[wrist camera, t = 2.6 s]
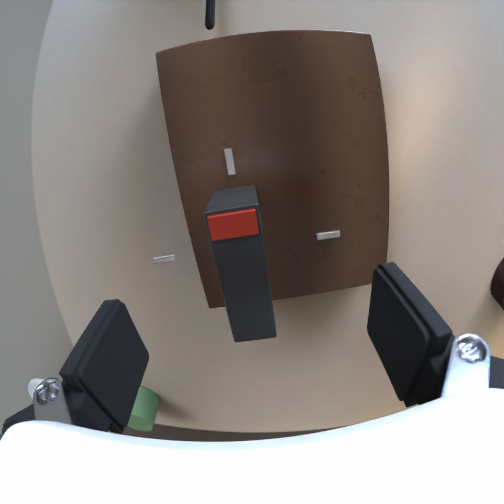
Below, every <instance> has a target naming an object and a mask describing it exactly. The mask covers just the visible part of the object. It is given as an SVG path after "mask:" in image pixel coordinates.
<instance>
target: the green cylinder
mask: <svg viewBox="0 0 504 504" xmlns="http://www.w3.org/2000/svg"><path fill="white" fill-rule="evenodd" d="M158 404H159V398H158V396H157V395H156V394H155V393H154V392H152V391H151V390H149V389H147V388H144V387H139V390H138V393H137V397H136V400H135V403H134V406H133V409H132V413H131V416H130V419H129V423H128V425H127V426H129V427H130V428H133V429H136V430H139V431H150V430H152V429H153V425H154V421H155V416H156V412H157V408H158Z"/></svg>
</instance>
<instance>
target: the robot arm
mask: <svg viewBox="0 0 504 504" xmlns="http://www.w3.org/2000/svg"><path fill="white" fill-rule="evenodd" d="M367 330H368V334H369V337H370V339H371V341H372V343H373V345H374V347H375V349H376V351H377V353H378V355H379V357H380V359H381V361H382V363H383V366H384V368H385V370H386V372H387V374H388V376H389V379H390V381H391V383H392V385H393V388H394V390H395V392H396V394H397V397H398V399H399V400H400V401H404V403H405V405H406V408H407V407H410V406H413V405H415V404H418V406H416V407H413V408H410V409H407V410H404V411H401V412H398V413H395V414H392V415H388V416H385V417H382V418H378V419H374V420H371V421H367V422H363V423H360V424H356V425H352V426H347V427H343V428H339V429H334V430H329V431H324V432H318V433H313V434H307V435H301V436H294V437H285V438H277V439H268V440H256V441H238V442H189V441H171V440H159V439H149V438H140V437H133V436H126V435H120V434H122V433H123V430H124V427H126V426H127V425H128V423H129V419H130V416H131V413H132V409H133V406H134V403H135V400H136V397H137V393H138V390H139V387H140V384H141V381H142V378H143V375H144V372H145V369H146V366H147V364H148V360H149V354H148V351H147V349H146V347H145V345H144V343H143V341H142V340H141V338H140V336H139V334H138V332H137V330H136V327H135V325H134V323H133V321H132V319H131V317H130V315H129V313H128V310H127V308H126V306H125V304H124V303H121V301H120V300H118V299H114V300H105V301H104V302H103V303H102V305H101V306H100V308H99V309H98V311H97V312H96V314H95V315H94V317H93V318H92V320H91V321H90V323H89V324H88V326H87V327H86V329H85V331H84V332H83V334H82V335H81V337H80V339H79V340H78V342H77V343H76V345H75V347H74V348H73V350H72V352H71V353H70V355H69V357H68V358H67V360H66V362H65V363H64V365H63V367H62V369H61V370H60V372H59V374H60V375H61V377H62V378H63V381H62V382H61V381H60V380H59V379H57V378H48V379H45V380H44V381H42V382H41V383H40V384H39V385H38V386H37V387H36V389H35V391H34V393H33V404H32V405H30V406H28V407H27V408H25V409H23V410H21V411H20V412H18V413H16V414H14V415H12V416H11V417H9V418H8V419H6V420H5V422H4V424H3V428H2V435H1V434H0V504H504V359H501V358H497V357H494V356H491V352H490V347H489V345H488V343H487V342H486V341H485V340H484V339H483V338H481V337H480V336H478V335H475V334H470V333H466V334H461V335H459V336H457V337H455V336H454V335H453V333H452V332H453V331H452V330H451V329H450V328H449V326H448V325H447V324H446V322H445V321H444V320H443V319H442V317H441V316H440V315H439V314H438V312H437V311H436V310H435V309H434V308H433V306H432V305H431V304H430V303H429V301H428V300H427V299H426V298H425V297H424V296H423V294H422V293H421V292H420V291H419V290H418V289H417V287H416V286H415V285H414V284H413V283H412V282H411V281H410V280H409V278H408V277H407V276H406V275H405V274H404V273H403V272H402V271H401V270H400V268H399V267H398V266H397V265H396V264H395V263H394V262H390V263H384V264H379V265H378V267H377V269H374V271H373V279H372V290H371V299H370V308H369V316H368V323H367ZM108 430H110V431H111V432H115V433H120V434H114V433H109V432H108Z"/></svg>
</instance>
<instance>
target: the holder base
mask: <svg viewBox="0 0 504 504" xmlns="http://www.w3.org/2000/svg"><path fill="white" fill-rule="evenodd" d="M156 60H157V68H158V75H159V82H160V89H161V96H162V102H163V108H164V114H165V120H166V126H167V131H168V137H169V142H170V147H171V153H172V158H173V163H174V168H175V173H176V177H177V182H178V187H179V191H180V196H181V200H182V205H183V209H184V213H185V218H186V222H187V226H188V230H189V234H190V238H191V242H192V246H193V250H194V254H195V258H196V262H197V266H198V270H199V273H200V277H201V281H202V284H203V288H204V292H205V295H206V299H207V302H208V306H209V308H218V307H225V303H224V299H223V295H222V291H221V287H220V282H219V278H218V274H217V270H216V266H215V261H214V257H213V253H212V248H211V244H210V239H209V235H208V230H207V226H206V221H205V217H204V211H205V209H206V207H207V205H208V203H209V201H210V199H211V197H212V195H213V193H214V191H217V190H223V189H229V188H235V187H241V186H248V185H255V188H256V193H257V199H258V205H259V211H260V218H261V225H262V232H263V239H264V246H265V253H266V260H267V267H268V274H269V282H270V289H271V296H272V300H278V299H285V298H292V297H298V296H304V295H311V294H317V293H322V292H328V291H334V290H340V289H345V288H351V287H356V286H361V285H366V284H371V283H372V279H373V271H374V269H377V267H378V265H379V264H384V263H386V261H387V247H388V229H389V163H388V146H387V133H386V122H385V113H384V105H383V97H382V90H381V84H380V78H379V72H378V67H377V61H376V57H375V52H374V47H373V43H372V39H371V35H370V34H367V33H358V32H348V31H332V30H283V31H267V32H256V33H247V34H239V35H232V36H226V37H220V38H214V39H209V40H204V41H199V42H195V43H190V44H186V45H182V46H178V47H174V48H171V49H167V50H163V51H160V52H157V53H156ZM175 260H176V258H175V255H168V256H161V257H155V258H153V261H154V264H157V263H164V262H171V261H175Z"/></svg>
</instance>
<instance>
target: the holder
mask: <svg viewBox="0 0 504 504" xmlns="http://www.w3.org/2000/svg"><path fill="white" fill-rule="evenodd" d="M204 217H205V221H206V226H207V230H208V235H209V239H210V244H211V248H212V253H213V257H214V261H215V266H216V270H217V274H218V278H219V282H220V287H221V291H222V295H223V299H224V303H225V307H226V311H227V315H228V319H229V323H230V326H231V330H232V334H233V338H234V341H235V342H243V341H252V340H260V339H267V338H275V337H276V336H277V334H276V326H275V318H274V311H273V304H272V296H271V289H270V282H269V274H268V267H267V260H266V253H265V246H264V239H263V232H262V225H261V218H260V211H259V205H258V199H257V193H256V188H255V185H248V186H241V187H235V188H229V189H223V190H217V191H214V193H213V195H212V197H211V199H210V201H209V203H208V205H207V207H206V209H205V211H204Z"/></svg>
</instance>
